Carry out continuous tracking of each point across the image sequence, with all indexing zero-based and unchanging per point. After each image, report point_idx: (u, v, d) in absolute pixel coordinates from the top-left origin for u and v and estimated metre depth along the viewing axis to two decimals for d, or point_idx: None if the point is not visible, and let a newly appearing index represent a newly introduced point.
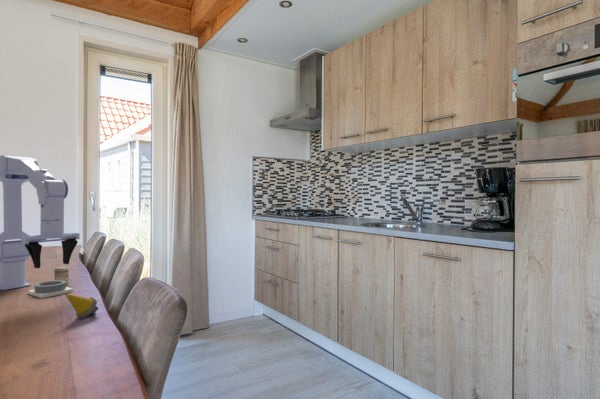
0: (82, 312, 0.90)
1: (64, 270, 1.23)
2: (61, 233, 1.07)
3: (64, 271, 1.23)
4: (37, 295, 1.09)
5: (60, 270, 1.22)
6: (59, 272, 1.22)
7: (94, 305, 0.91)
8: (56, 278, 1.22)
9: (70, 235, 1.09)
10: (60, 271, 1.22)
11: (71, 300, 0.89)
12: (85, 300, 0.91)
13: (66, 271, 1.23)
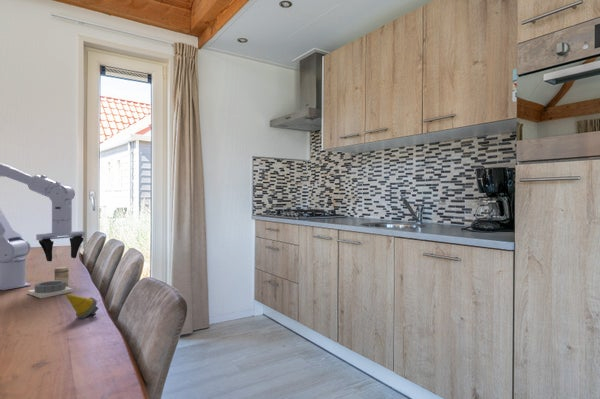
0: (82, 312, 0.90)
1: (64, 270, 1.22)
2: (69, 231, 1.23)
3: (64, 271, 1.22)
4: (37, 295, 1.09)
5: (60, 270, 1.22)
6: (59, 272, 1.22)
7: (94, 305, 0.91)
8: (56, 278, 1.22)
9: (77, 233, 1.26)
10: (60, 271, 1.22)
11: (71, 300, 0.89)
12: (85, 300, 0.91)
13: (66, 271, 1.23)
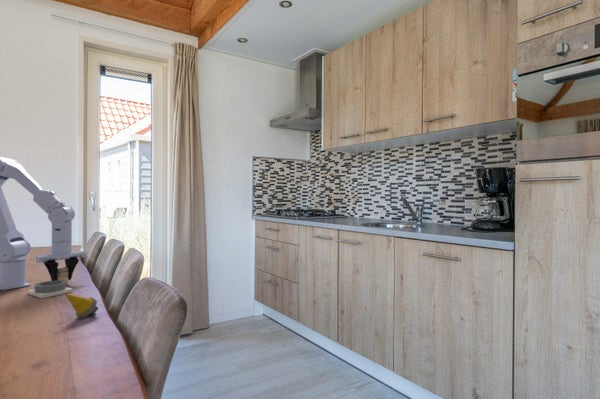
0: (82, 312, 0.90)
1: (64, 270, 1.22)
2: (69, 252, 1.23)
3: (64, 271, 1.22)
4: (37, 295, 1.09)
5: (60, 270, 1.22)
6: (59, 272, 1.22)
7: (94, 305, 0.91)
8: None
9: (77, 254, 1.26)
10: (60, 271, 1.22)
11: (71, 300, 0.89)
12: (85, 300, 0.91)
13: (66, 271, 1.23)
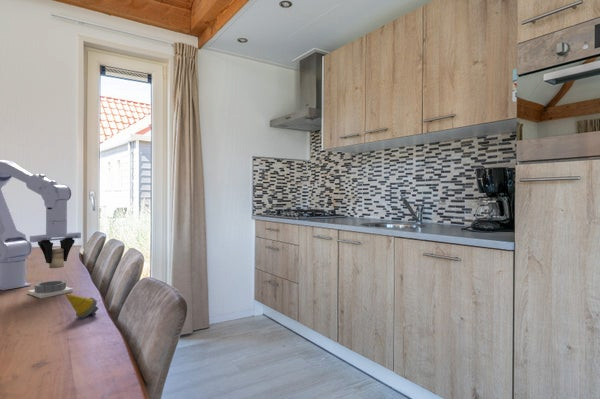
0: (82, 312, 0.90)
1: (59, 251, 1.18)
2: (65, 232, 1.18)
3: (59, 252, 1.17)
4: (37, 295, 1.09)
5: (55, 251, 1.17)
6: (54, 253, 1.17)
7: (94, 305, 0.91)
8: None
9: (72, 234, 1.21)
10: (55, 252, 1.17)
11: (71, 300, 0.89)
12: (85, 300, 0.91)
13: (62, 252, 1.18)
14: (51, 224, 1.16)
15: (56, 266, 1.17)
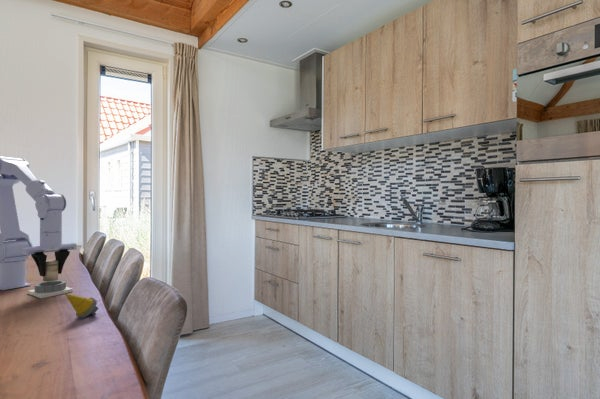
0: (82, 312, 0.90)
1: (53, 263, 1.13)
2: (59, 244, 1.14)
3: (53, 264, 1.13)
4: (37, 295, 1.09)
5: (48, 263, 1.12)
6: (47, 265, 1.12)
7: (94, 305, 0.91)
8: None
9: (68, 246, 1.17)
10: (48, 264, 1.12)
11: (71, 300, 0.89)
12: (85, 300, 0.91)
13: (56, 264, 1.14)
14: (45, 235, 1.11)
15: (50, 279, 1.12)
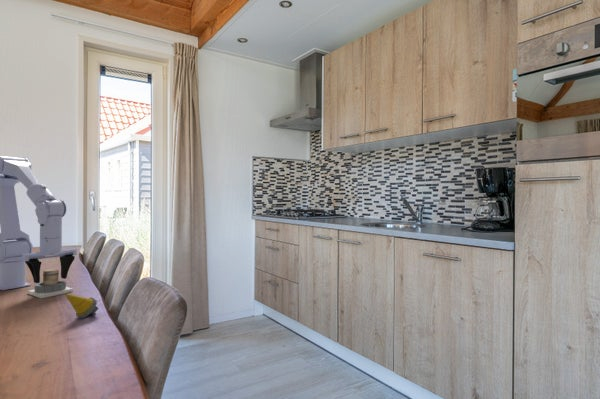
0: (82, 312, 0.90)
1: (53, 273, 1.13)
2: (59, 250, 1.14)
3: (53, 274, 1.13)
4: (37, 295, 1.09)
5: (49, 273, 1.12)
6: (47, 275, 1.12)
7: (94, 305, 0.91)
8: (44, 282, 1.12)
9: (67, 251, 1.17)
10: (49, 274, 1.12)
11: (71, 300, 0.89)
12: (85, 300, 0.91)
13: (56, 274, 1.14)
14: (45, 241, 1.11)
15: None
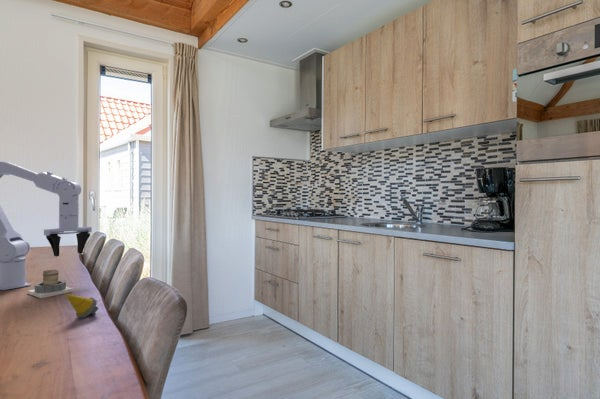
0: (82, 312, 0.90)
1: (53, 273, 1.13)
2: (76, 227, 1.25)
3: (53, 274, 1.13)
4: (37, 295, 1.09)
5: (48, 273, 1.12)
6: (47, 275, 1.12)
7: (94, 305, 0.91)
8: (44, 282, 1.12)
9: (84, 228, 1.28)
10: (48, 274, 1.12)
11: (71, 300, 0.89)
12: (85, 300, 0.91)
13: (56, 274, 1.14)
14: (64, 218, 1.22)
15: None
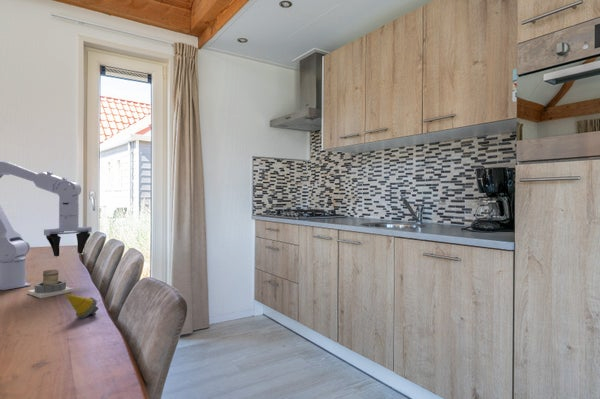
0: (82, 312, 0.90)
1: (53, 273, 1.13)
2: (76, 227, 1.25)
3: (53, 274, 1.13)
4: (37, 295, 1.09)
5: (48, 273, 1.12)
6: (47, 275, 1.12)
7: (94, 305, 0.91)
8: (44, 282, 1.12)
9: (84, 228, 1.28)
10: (48, 274, 1.12)
11: (71, 300, 0.89)
12: (85, 300, 0.91)
13: (56, 274, 1.14)
14: (64, 218, 1.22)
15: None
